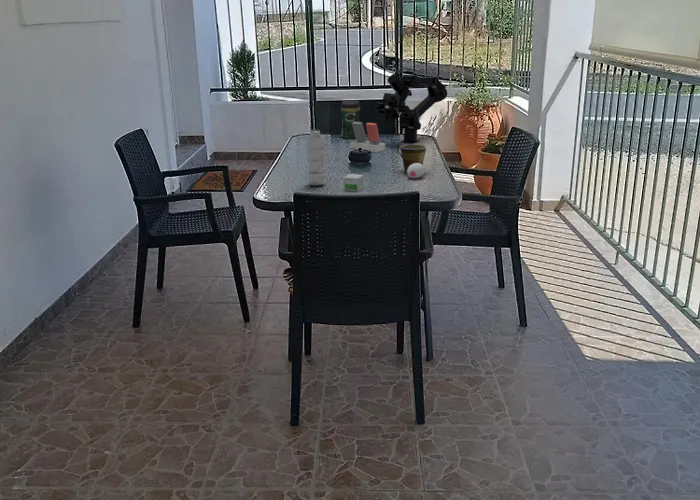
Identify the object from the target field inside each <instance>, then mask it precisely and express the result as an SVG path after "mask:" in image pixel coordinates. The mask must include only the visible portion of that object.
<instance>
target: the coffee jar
mask: <svg viewBox="0 0 700 500" xmlns="http://www.w3.org/2000/svg"><path fill="white" fill-rule="evenodd" d="M340 111H341V114H342V117H341V118H342V124H341V138H342V139H347V140H348V139H349V140H353V139H355V140H356V137H355V134H354V130H353V126H352V123H353V122H354V121H355V122H360V112H361V105H360V100H354V99H353V100H352V99H351V100H342V102H341V106H340Z"/></svg>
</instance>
